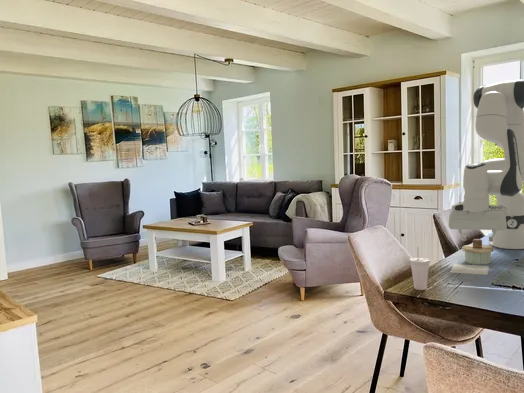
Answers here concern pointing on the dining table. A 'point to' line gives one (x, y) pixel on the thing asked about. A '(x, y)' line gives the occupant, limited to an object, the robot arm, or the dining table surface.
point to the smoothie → (420, 271)
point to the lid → (477, 247)
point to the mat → (470, 269)
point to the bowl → (478, 258)
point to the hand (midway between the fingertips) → (477, 240)
